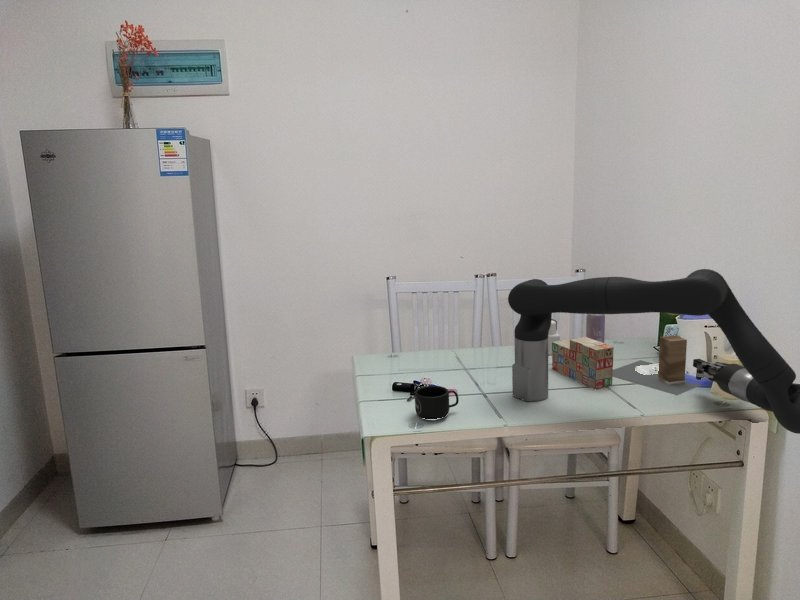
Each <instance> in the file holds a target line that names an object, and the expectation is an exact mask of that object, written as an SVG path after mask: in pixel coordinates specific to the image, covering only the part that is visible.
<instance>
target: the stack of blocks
mask: <svg viewBox="0 0 800 600" xmlns="http://www.w3.org/2000/svg"><path fill="white" fill-rule="evenodd" d="M551 360H552V363H551V365H552V366H551V368H552V370H554V371H556V372H558V373H560V374H563V375H565V376H566V377H568V378H571V379H572V380H574V381H576V382H579V383H581V384H582V385H585V386H586V387H589V388H591V389H593V390H595V389H596V390H600V389H605V388H607V386H608V387H609V386H612V385H613V377H612V372H613V370H614V368H613V367H614V346H612V345H609V344H607V343H605V342H604V343H602V342H600V341H596V340H593V339H590V338H587V337H586V336H582V337H578V338H573V339H563V340H561V339H560V341H556V342H552V355H551Z"/></svg>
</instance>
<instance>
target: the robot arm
mask: <svg viewBox="0 0 800 600" xmlns="http://www.w3.org/2000/svg"><path fill="white" fill-rule="evenodd" d="M507 302H508V305H509V307H510V309H512V311H514V312H515V313H517V314H518V315H520V317H519V320H518V322H517V324H516V326H515V327H514V330H513V331H514V363H513V364H512V365H511V369H512V373H511V374H512V377H511V378H512V379H511V380H512V386H511V387H512V396H513V395H514V396H516V397H515V398H517V397H518V399H519V398H520V399H519V400H522V399H523V400H522V401H524V400H526V401H525V402H527V401H530V402H538V401H543V400H546V399H547V398H548V397H549V355H548V333H549V329H550V326H551V319H552V315H553V314H554V313H565V314H579V315H580V314H581V315H582V314H583V315H585V314H586V315H587V314H604V315H621V314H623V315H624V314H626V315H628V314H648V313H650V314H651V313H662V314H673V315H684V316H693V317H694V316H695V317H696V316H697V317H698V316H700V317H701V316H707V315H708V316H709V318H711V319H712V321H714V322H715V324H716V325H718V327H719V328H720V330H721V331H722V333H723V334H724V336H725V337H726V339H727V341H728V343H729V344H730V346H731V349H732V351H734V353H735V355H736V358H738V360H739V362H740V364H741V365H740V364H739V363H726V362H720V361H716V362H712V361H705V360H703V359H701V358H694V359H693V361H692V367H693V368H696V373H695V374H696V379H697V380H701V378H704V377H705V378H708V379H709V380H710V381H709V382H714V383H716V384H717V386H718V387H719V389H720V390H721V391H723V392H725V393H727V394H729V395H731V396H733V397H734V398H737V399H740V400H741V401H743V402H745V403H746V402H747V403H750V404H753V405H754V406H757V407H758V408H761V409H763V410H765V411H767V412H772V413H773V415H774V417H775V419H776V420H777V422H778V423H779V425H780V426H782V427H783V428H784V429H785V430H787V431H788V432H791V433H793V434H796V435H797V434H799V435H800V383H796V382H795V380H797V375H796V372H795V370H793V368H792V367H791V366H790V365H789V363H788V362H787V361H786V360H785V358H783V356H782V355H781V354H780V353H779V352H778V351H777V349H776V348H775V347H774V346H773V345H772V344H771V342H770V341H768V339H767V338H766V337H765V336H764V334H763V333H762V332H761V331H760V330H759V329H758V327H757V326H756V325H755V323H754V322H753V320H751V318H750V317H749V315H748V313H746V311H745V310H744V309H743V307H742V305H741V304H740V302H739V301H738V299H737V297H736V295H735V294H734V293H733V291H732V289H731V287H730V286H729V284H728V283H727V281H726V279H725V277H723V275H722V274H721V273H719V272H718V271H716V270H712V269H710V268H701V269H700V268H699V269H697V270H694V271H692V272H691V273H689V274H688V275H687V276H686V277H682V278H679V279H671V280H670V279H669V280H660V281H658V280H657V281H647V280H642V279H637V278H631V277H624V276H604V277H602V276H601V277H600V276H599V277H591V278H584V279H579V280H574V281H569V282H565V283H560V284H559V283H558V284H548V283H547V282H545V281H544V280H542V279H541V278H540V279H539V278H532V279H529V280H526V281H522V282H520V283H517V284H516V285H515V286H514V287H512V289H511V290H510V292H509V293H508V297H507ZM794 382H795V383H794ZM514 396H513V397H514Z"/></svg>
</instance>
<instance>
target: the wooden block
mask: <svg viewBox="0 0 800 600" xmlns="http://www.w3.org/2000/svg"><path fill="white" fill-rule="evenodd" d="M687 346H688V339H686V338H683V337H681V336H678V335H666V336H659V349H658V350H659V351H658V352H659V355H658V365H659V371H658V379H659V380H661V381H663V382H664V383H666V384H668V385H671V384H681V383H685V371H686V366H687V365H686V363H687V362H686V361H687Z"/></svg>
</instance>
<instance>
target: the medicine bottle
mask: <svg viewBox="0 0 800 600" xmlns="http://www.w3.org/2000/svg"><path fill="white" fill-rule="evenodd" d="M556 341H561V335H560V334H559V332H558V320H556V319H553V318H551V326H550V329H549V333H548V356H552V342H556Z"/></svg>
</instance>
